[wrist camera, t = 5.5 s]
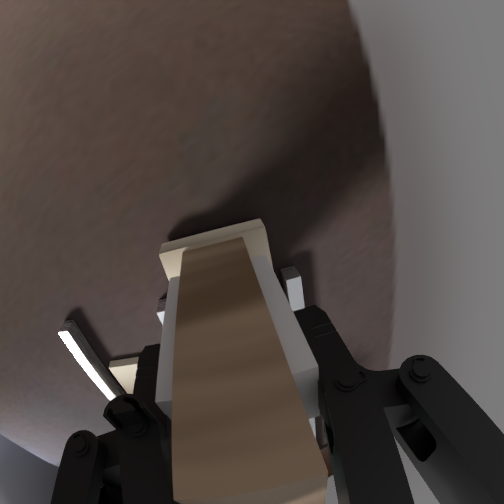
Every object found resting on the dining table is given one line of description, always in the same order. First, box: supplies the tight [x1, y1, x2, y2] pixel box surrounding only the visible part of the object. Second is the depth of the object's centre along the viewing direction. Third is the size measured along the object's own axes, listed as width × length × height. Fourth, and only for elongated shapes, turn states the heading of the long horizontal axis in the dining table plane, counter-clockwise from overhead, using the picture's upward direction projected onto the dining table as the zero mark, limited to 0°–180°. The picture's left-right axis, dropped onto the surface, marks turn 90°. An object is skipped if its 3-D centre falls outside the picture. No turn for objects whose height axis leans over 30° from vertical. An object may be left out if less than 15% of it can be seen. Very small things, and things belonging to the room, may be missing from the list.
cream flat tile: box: [109, 357, 139, 394], centre depth 18 cm, size 6×5×1 cm
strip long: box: [159, 218, 328, 504], centre depth 14 cm, size 23×5×12 cm, turn 11°
